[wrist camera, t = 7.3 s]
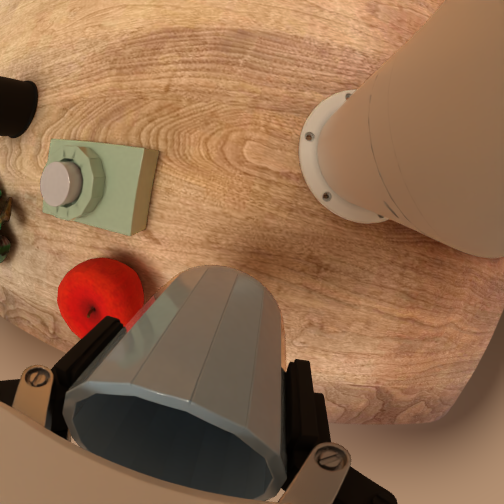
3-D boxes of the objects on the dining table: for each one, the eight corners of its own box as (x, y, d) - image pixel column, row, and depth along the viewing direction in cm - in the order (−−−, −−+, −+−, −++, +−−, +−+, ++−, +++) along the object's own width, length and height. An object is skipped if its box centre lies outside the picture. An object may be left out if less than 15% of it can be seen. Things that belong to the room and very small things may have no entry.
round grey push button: (85, 163, 21) (72, 163, 19) (80, 207, 22) (66, 210, 21) (56, 159, 21) (42, 159, 19) (51, 200, 23) (38, 203, 21)
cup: (298, 279, 13) (320, 422, 5) (269, 387, 15) (258, 520, 7) (157, 252, 14) (39, 344, 5) (154, 361, 15) (89, 472, 7)
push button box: (159, 150, 26) (134, 146, 20) (145, 229, 28) (119, 241, 23) (70, 140, 26) (38, 137, 21) (61, 207, 28) (30, 215, 23)
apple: (98, 314, 31) (62, 346, 24) (87, 245, 29) (43, 265, 21) (162, 324, 31) (134, 364, 23) (155, 247, 28) (117, 272, 21)
